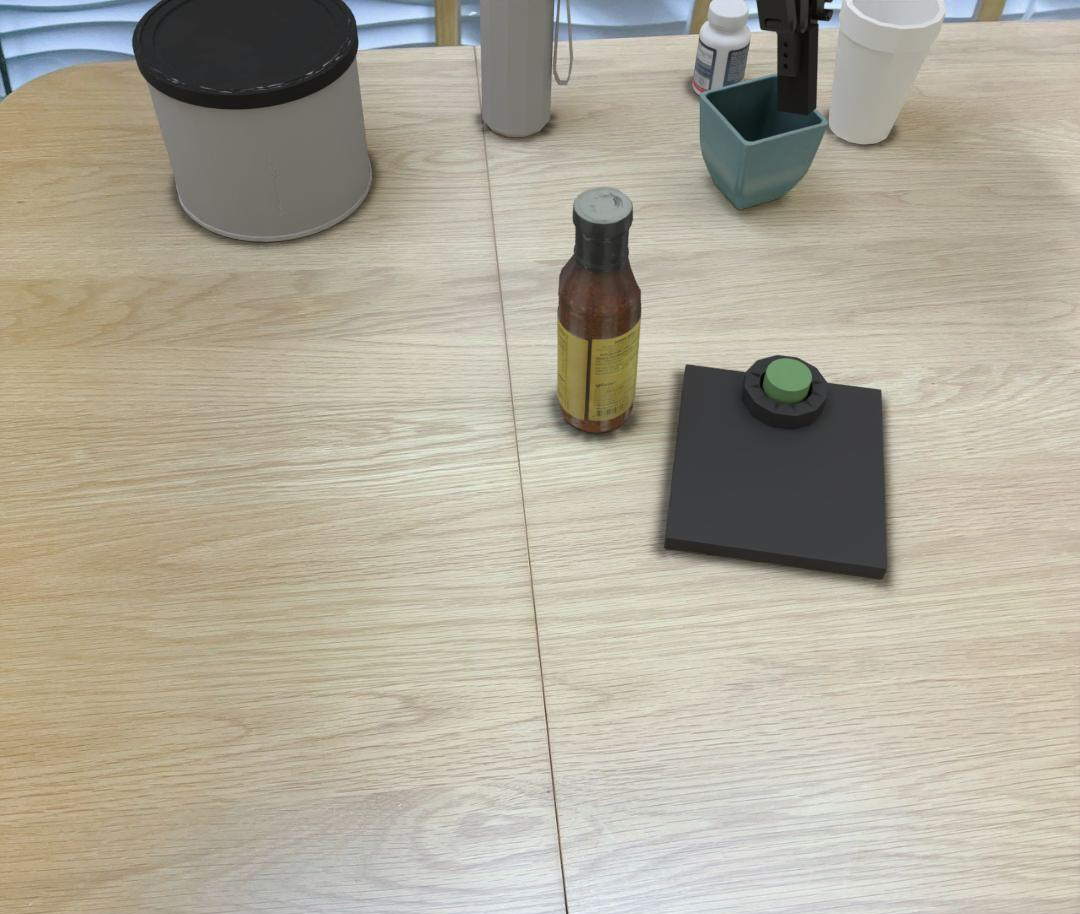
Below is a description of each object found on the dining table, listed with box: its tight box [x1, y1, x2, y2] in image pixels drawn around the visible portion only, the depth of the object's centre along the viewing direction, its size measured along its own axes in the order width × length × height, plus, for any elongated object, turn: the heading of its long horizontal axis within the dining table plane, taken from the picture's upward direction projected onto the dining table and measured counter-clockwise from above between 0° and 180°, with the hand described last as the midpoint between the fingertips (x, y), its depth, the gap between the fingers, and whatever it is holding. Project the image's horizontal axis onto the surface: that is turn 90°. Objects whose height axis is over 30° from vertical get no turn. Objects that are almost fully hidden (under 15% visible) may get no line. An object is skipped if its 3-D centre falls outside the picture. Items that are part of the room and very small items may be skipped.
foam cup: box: [828, 0, 947, 145], centre depth 108 cm, size 10×9×13 cm
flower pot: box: [698, 72, 829, 210], centre depth 102 cm, size 9×9×9 cm
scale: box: [663, 354, 888, 580], centre depth 84 cm, size 16×19×3 cm
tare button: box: [763, 358, 812, 404], centre depth 86 cm, size 4×4×2 cm
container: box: [131, 0, 373, 243], centre depth 99 cm, size 19×19×15 cm
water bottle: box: [479, 0, 574, 138], centre depth 102 cm, size 9×8×25 cm
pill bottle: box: [692, 0, 752, 96], centre depth 113 cm, size 5×5×9 cm
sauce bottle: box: [556, 186, 642, 434], centre depth 81 cm, size 6×6×20 cm
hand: (796, 109), depth 88 cm, fingers closed
